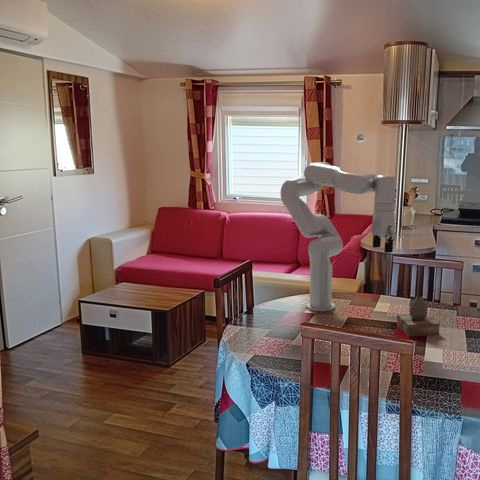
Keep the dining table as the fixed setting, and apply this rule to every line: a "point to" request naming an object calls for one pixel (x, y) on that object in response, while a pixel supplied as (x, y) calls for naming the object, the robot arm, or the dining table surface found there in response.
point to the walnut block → (417, 325)
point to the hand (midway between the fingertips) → (382, 249)
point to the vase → (418, 309)
